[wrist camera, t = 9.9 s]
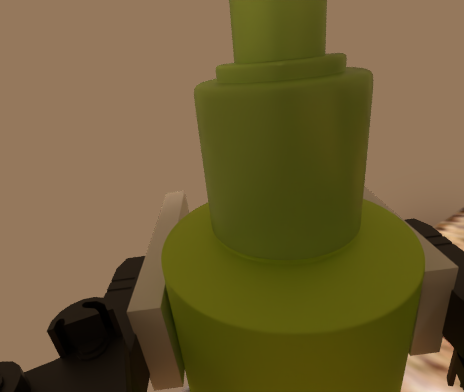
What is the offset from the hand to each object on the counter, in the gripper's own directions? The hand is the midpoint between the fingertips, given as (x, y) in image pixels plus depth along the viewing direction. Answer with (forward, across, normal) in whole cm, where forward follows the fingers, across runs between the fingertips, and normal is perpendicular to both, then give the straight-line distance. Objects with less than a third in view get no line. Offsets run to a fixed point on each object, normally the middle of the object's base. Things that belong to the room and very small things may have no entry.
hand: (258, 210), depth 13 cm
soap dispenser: (-5, 0, -11) cm, 12 cm away
